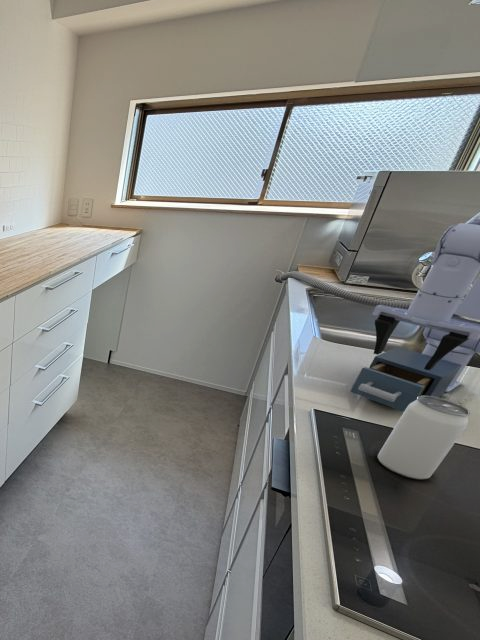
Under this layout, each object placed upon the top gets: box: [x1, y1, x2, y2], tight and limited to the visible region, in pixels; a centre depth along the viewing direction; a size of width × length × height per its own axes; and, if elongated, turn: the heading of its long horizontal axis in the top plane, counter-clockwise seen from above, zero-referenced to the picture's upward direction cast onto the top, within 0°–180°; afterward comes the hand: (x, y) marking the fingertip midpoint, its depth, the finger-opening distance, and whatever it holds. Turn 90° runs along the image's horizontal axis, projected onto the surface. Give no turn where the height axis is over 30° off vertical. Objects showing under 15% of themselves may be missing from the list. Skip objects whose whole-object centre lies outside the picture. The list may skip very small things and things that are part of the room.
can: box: [377, 396, 471, 480], centre depth 65 cm, size 6×6×12 cm
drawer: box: [349, 363, 434, 413], centre depth 85 cm, size 16×9×6 cm, turn 120°
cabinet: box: [368, 346, 462, 398], centre depth 90 cm, size 13×11×8 cm
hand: (401, 360), depth 81 cm, fingers open, 7 cm apart
